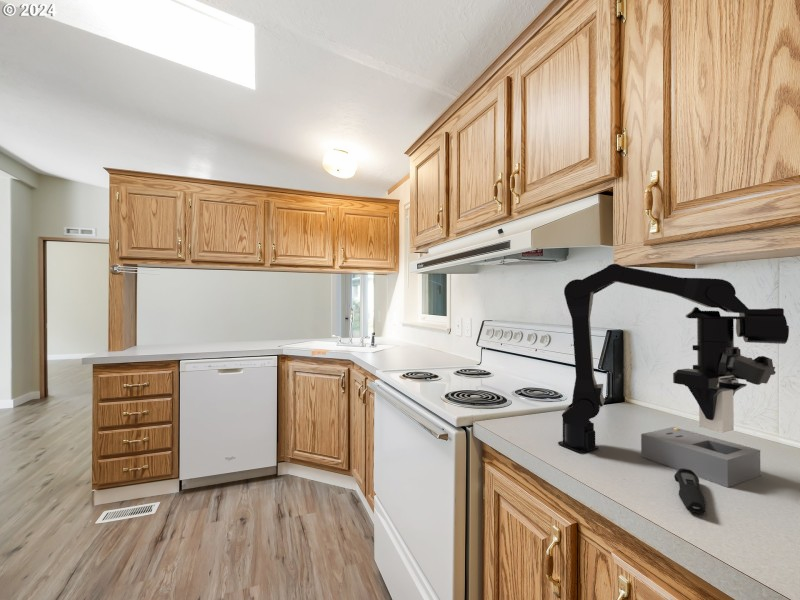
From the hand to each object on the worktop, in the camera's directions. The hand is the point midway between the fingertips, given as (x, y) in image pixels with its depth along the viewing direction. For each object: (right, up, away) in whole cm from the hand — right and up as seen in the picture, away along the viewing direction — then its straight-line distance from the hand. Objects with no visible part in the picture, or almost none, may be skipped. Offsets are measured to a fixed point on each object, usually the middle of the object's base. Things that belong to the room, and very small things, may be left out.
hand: (715, 418), depth 77 cm
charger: (0, -2, 0) cm, 2 cm away
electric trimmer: (-13, -11, -10) cm, 20 cm away
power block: (-1, -11, +3) cm, 11 cm away
